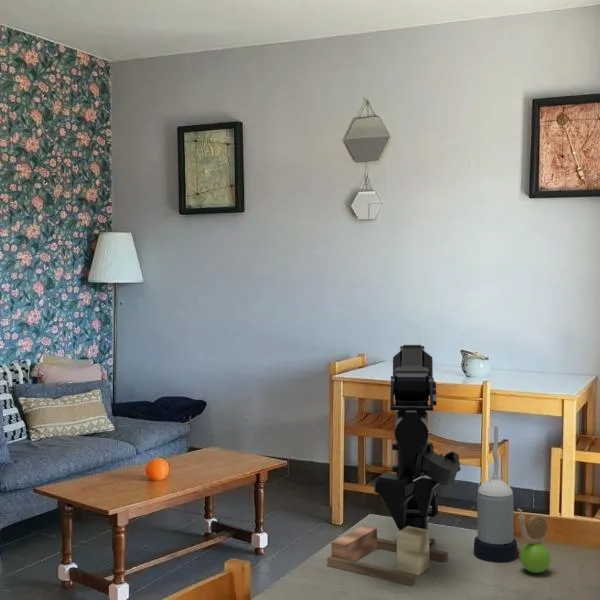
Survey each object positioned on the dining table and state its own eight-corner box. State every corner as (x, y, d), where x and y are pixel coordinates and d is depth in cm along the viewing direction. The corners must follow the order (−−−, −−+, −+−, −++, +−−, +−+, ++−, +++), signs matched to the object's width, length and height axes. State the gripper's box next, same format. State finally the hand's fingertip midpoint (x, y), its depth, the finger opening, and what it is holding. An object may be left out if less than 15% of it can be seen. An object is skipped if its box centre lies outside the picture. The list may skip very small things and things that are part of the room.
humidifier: (526, 558, 153) (526, 427, 152) (492, 565, 150) (491, 431, 149) (498, 545, 161) (497, 420, 160) (465, 552, 157) (464, 424, 156)
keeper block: (408, 562, 152) (407, 526, 151) (429, 567, 149) (429, 530, 149) (397, 570, 148) (396, 532, 148) (418, 574, 146) (418, 536, 145)
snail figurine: (509, 570, 147) (508, 505, 147) (537, 564, 150) (536, 500, 149) (528, 580, 142) (528, 513, 142) (557, 574, 145) (557, 508, 144)
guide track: (367, 543, 163) (367, 523, 163) (447, 559, 153) (447, 539, 153) (327, 565, 150) (327, 544, 150) (411, 585, 140) (411, 563, 140)
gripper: (429, 453, 136) (430, 545, 136) (473, 433, 151) (474, 516, 151) (372, 445, 142) (372, 533, 143) (419, 427, 157) (420, 507, 158)
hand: (412, 522), depth 148 cm, fingers open, 9 cm apart
